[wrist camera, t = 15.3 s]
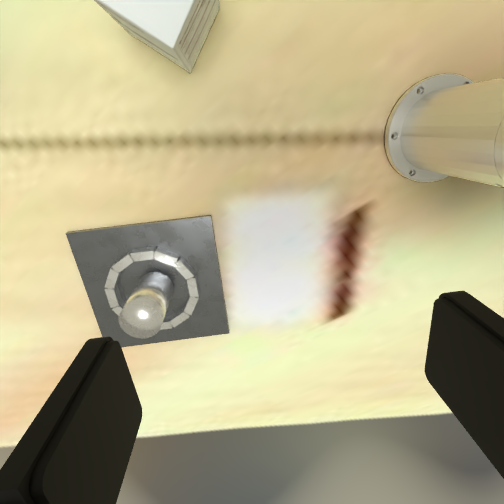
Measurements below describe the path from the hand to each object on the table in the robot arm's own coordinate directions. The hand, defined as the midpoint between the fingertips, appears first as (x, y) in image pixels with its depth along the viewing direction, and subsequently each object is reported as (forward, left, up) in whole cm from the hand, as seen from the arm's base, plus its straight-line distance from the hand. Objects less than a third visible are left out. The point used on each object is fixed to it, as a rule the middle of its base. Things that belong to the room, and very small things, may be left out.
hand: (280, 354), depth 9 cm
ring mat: (+14, +14, -33) cm, 38 cm away
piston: (+14, +14, -32) cm, 38 cm away
